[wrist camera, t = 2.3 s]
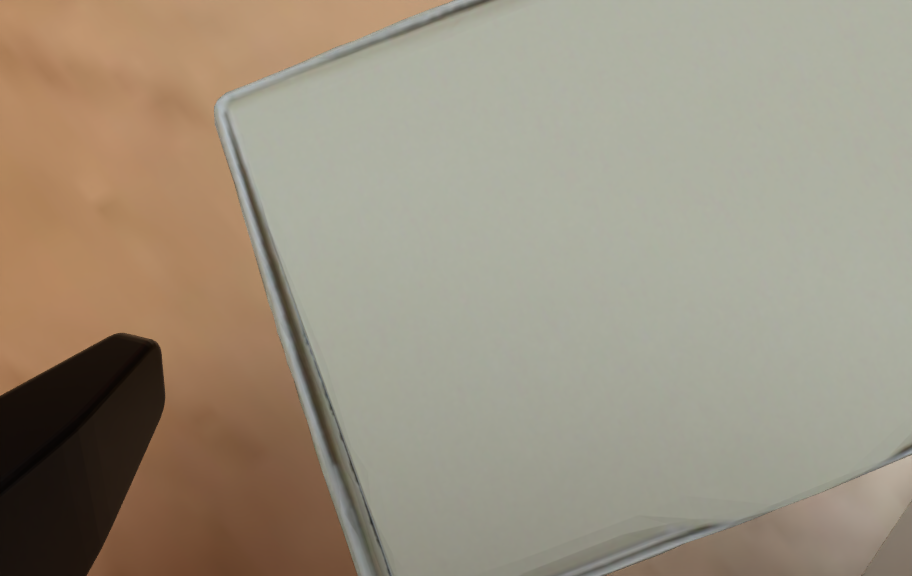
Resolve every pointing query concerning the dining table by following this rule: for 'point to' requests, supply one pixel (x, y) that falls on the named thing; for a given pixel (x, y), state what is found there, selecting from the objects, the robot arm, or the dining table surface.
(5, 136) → the dining table surface
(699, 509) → the skincare box
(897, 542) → the grey block
